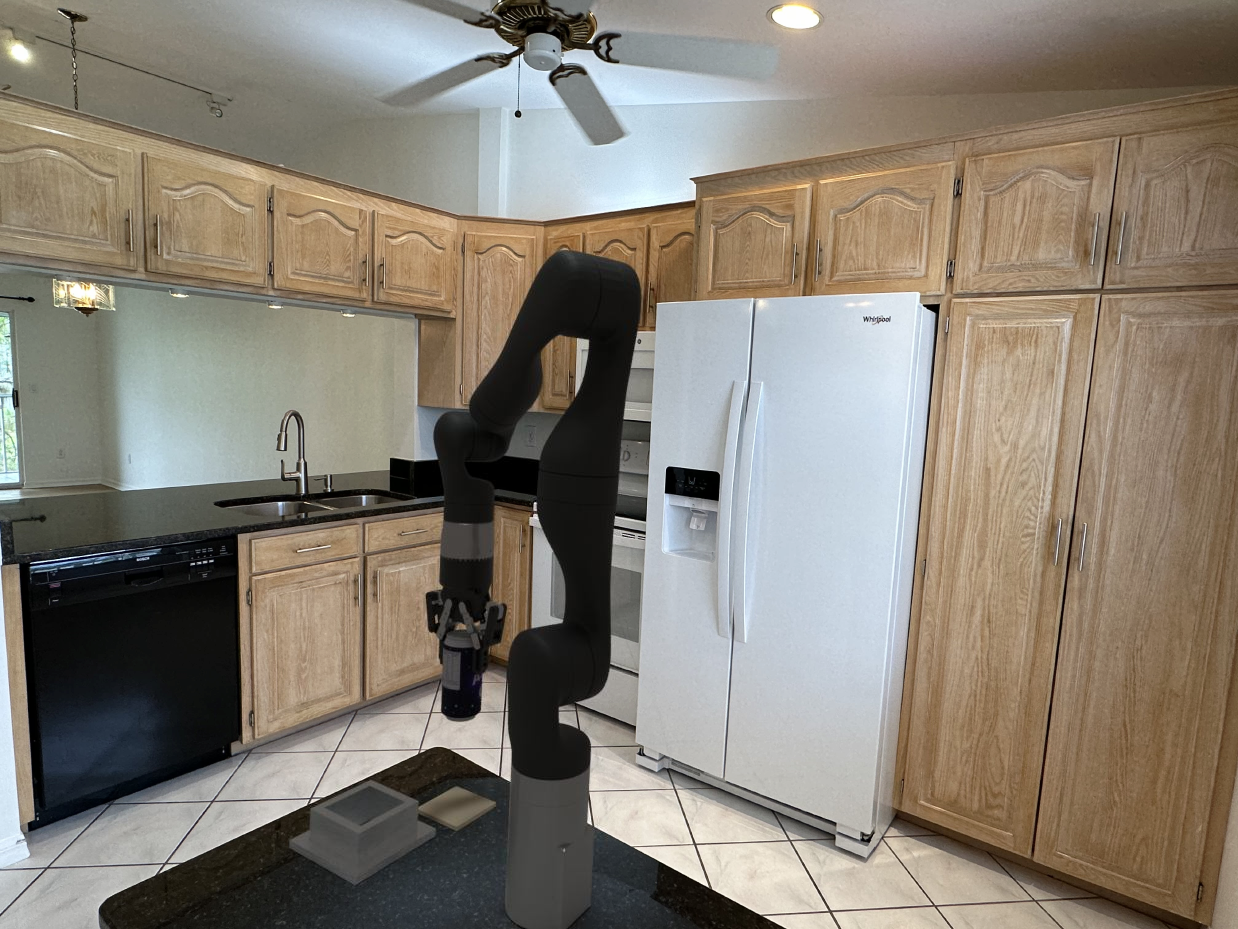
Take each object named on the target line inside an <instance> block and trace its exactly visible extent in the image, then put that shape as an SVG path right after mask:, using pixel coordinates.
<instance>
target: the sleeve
mask: <svg viewBox="0 0 1238 929" xmlns="http://www.w3.org/2000/svg"><path fill="white" fill-rule="evenodd" d="M419 803H420V802H419V800H417V799H415V798H412V797H411V796H408V795H405V794H404V793H402V792H400V791H397V790H394V789H392V788H390V787H389V786H387V785H383V784H381V783H379V782H377V781H375V780H372V779H370V780H368V781H365V782H364V783H361V784H359V785H357V786H355V787H353V788H351V789H349V790H347V791H345V792H342V793H340V794H338V795H336V796H334V797H332V798H330V799H328V800H326V801H324V802H321V803H320V804H317V805H315V806H313V807H311V808H310V810H309V830H307V831H304V832H303V833H301V834H299V835H297V836H295V837H293V838H291V839H289V846H288V847H289V848H290V849H291V850H293V851H295V852H296V853H298V854H300V855H302V856H303V857H305V858H307V859H309V860H310V861H312V862H313V863H315V864H317V865H319V866H321V867H322V868H323V869H326V870H328V872H331V873H333V874H334V875H336V876H338V877H339V878H341V879H343V880H345V881H346V882H348V883H350V884H352V885H353V886H357V885H358V884H360V883H361V882H363V881H365V880H366V879H368V878H369V877H371V876H373V875H374V874H376V873H377V872H379V871H381V870H382V869H384V868H386V867H388V866H389V865H391V864H392V863H394V862H396V861H398V860H399V859H400V858H403V856H406V855H407V854H409V853H410V852H412V851H413V850H415V849H417V848H418V847H420V846H422V845H423V844H426V842H428V841H430V840H431V839H433V838H434V837H436V835H437V834H436V832H437V831H436V830H437V829H436V828H435V827H433V826H431V825H429V824H427V823H425V822H423V821H420V820H419V814H418V807H419Z"/></svg>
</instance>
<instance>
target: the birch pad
mask: <svg viewBox="0 0 1238 929" xmlns="http://www.w3.org/2000/svg"><path fill="white" fill-rule="evenodd" d="M494 807H495V808H496V807H497V802H496V801H493V800H491V799H489V798H486V797H484V796H482V795H479V794H476V793H473V792H471V791H469V790H467V789H464V788H462V787H459V786H457V785H456V786H453V787H452V788H450V789H448V790H447V791H445V792H443V793H442V794H440V795H438V796H435V797H434V798H433V799H431V800H429V801H426V803H423V804H421V805H420V806H418V815H421V816H423V817H425V818H427V819H429V820H431V821H433V822H436V823H438V824H441V825H443V826H445V827H447V828H449V829H451V830H453V831H455V832H458V831H459V830H461V829H463V828H464V827H466V826H467V825H469V824H471V823H473V822H474V821H475V820H478V819H479V818H480V817H482V816H484V815H485V814H487V813H489V812H490V811H491V810H493V809H495V808H494Z"/></svg>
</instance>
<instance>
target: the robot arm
mask: <svg viewBox="0 0 1238 929" xmlns="http://www.w3.org/2000/svg"><path fill="white" fill-rule="evenodd" d="M641 310H642V288H641V281H640V278H639V276H638V273H637V271H636V270H635V269H634V268H633V266H632V265H629V263H625V262H623V261H620V260H616V259H613V258H608V257H603V256H601V255H595V254H592V253H587V252H583V251H577V250H572V249H564V250H563V249H561V250H557V251H555V252H554V253H553V254H551V255H550V256H549V257H548V258H547V259H546V260H545V262H544V263H543V264H542V266H541V267H540V268H539V269H538V272H537V274H536V275H535V277H534V279H533V281H532V282H531V285H530V288H529V289H528V292H527V294H526V296H525V298H524V300H523V302H522V304H521V307H520V309H519V311H518V313H517V316H516V318H515V320H514V323H513V325H512V327H511V329H510V332H509V334H508V336H507V339H506V340H505V344H504V346H503V348H502V350H501V352H500V354H499V356H498V357H497V359H496V361H495V362H494V364H493V366H492V367H491V368H490V369H489V371H488V373H486V375H485V376H484V377H483V379H482V380H481V382H480V383H479V384H478V385H477V387H476V389H475V390H474V391H473V393H472V394H471V397H470V399H469V403H468V410H469V411H456V410H455V411H454V410H452V411H446V412H444V413H443V414H442V415H440V416H439V417H438V419H437V420H436V422H435V425H434V428H433V434H432V436H433V437H432V439H433V444H434V445H433V446H434V450H435V454H436V457H437V458H436V459H437V461H438V465H439V470H440V474H441V480H442V485H443V487H442V488H443V494H444V496H443V517H442V519H443V520H442V527H441V534H440V547H439V548H440V551H439V552H440V553H439V571H438V572H439V575H438V583H439V585H440V586H442V588H441V589H435V590H431V591H428V592H426V593H425V596H424V597H425V605H426V606H425V607H426V608H425V610H426V619H427V631H428V632H429V633H431V634H435V636H436V637H437V639H438V660H439V664H440V665H441V666H443V643H444V641H445V639H446V638H447V633H448V632H450V631H454V630H458V629H457V628H458V626H459V625H460V624H462V625H464V626H465V629H466V630H467V633H468V634H470V635H471V638H472V642H473V645H474V649H473V656H472V673H473V674H475V675H479V674H482V673H483V674H484V673H485V672H486V671H487V669H488V667H489V655H490V654H489V652H490V647H492V646H496V645H499V644H501V643H502V639H503V635H504V634H503V633H504V627H505V622H506V617H507V611H508V605H507V604H506V603H504V602H503V603H497V602H495V601H492V598H491V595H490V588H491V587H492V584H493V580H494V561H495V560H494V558H495V557H494V555H495V530H494V529H495V528H494V520H495V518H494V516H495V513H494V512H495V487H494V485H493V483H492V482H491V481H489V480H487V479H482V478H478V477H473V476H471V475H470V474H469V472H468V471H467V468H466V465H465V463H466V462H467V463H468V462H469V463H471V462H472V463H493V462H495V461H498V460H500V459H501V458H502V457H504V456H505V455H506V454H507V453H508V451H509V448H510V444H511V441H512V439H513V436H514V433H515V430H516V427H517V424H518V423H519V421H520V420H521V419H522V418H523V417H524V416H525V415H526V414H527V412H528V411H529V410H530V409H531V408H532V407H533V405H534V404H535V402H536V400H537V399H538V398H539V396H540V394H541V391H542V387H543V383H544V382H543V380H544V370H543V363H542V352H543V350H544V349H545V348H546V346H548V344H549V343H551V342H552V340H554V339H555V338H557V337H559V336H562V337H565V338H566V337H567V338H572V339H580V340H587V341H588V349H587V350H588V351H587V357H586V363H585V369H584V374H583V377H582V381H581V383H580V386H579V388H578V390H577V392H576V394H575V396H574V398H573V399H572V401H571V403H570V404H569V406H568V407H567V409H566V410H565V412H563V414H562V416H561V417H560V418H559V420H558V422H557V423H556V425H555V426H554V428H553V429H552V430H551V432H550V433H549V435H548V438H547V439H546V440H545V443H544V445H543V448H542V450H541V452H540V456H539V463H538V469H539V470H538V474H537V475H538V477H537V489H536V500H535V501H536V503H535V504H536V506H535V507H536V514H537V518H538V523H539V524H540V527H541V530H542V532H543V534H544V536H545V538H546V541H547V543H548V544H549V546H550V548H551V550H552V552H553V554H554V556H555V558H556V560H557V562H558V564H559V567H560V569H561V572H562V575H563V580H564V594H565V596H564V597H565V598H564V613H563V618H562V622H560V623H552V624H547V625H542V626H537V627H531V628H527V629H523V630H522V631H520V632H519V633H518V634H516V635H515V637H514V638H513V640H512V643H511V644H510V648H509V653H508V658H507V669H506V670H507V674H506V675H507V676H506V677H507V678H506V679H507V732H508V739H509V744H510V748H511V750H510V751H511V753H510V754H511V758H510V760H511V761H510V781H509V801H508V802H509V803H508V804H509V805H508V822H507V823H508V824H507V825H508V826H507V847H506V867H505V868H506V870H505V871H506V872H505V874H506V875H505V890H504V891H505V894H504V900H505V901H504V909H505V912H506V915H507V916H508V918H509V919H510V920H511V921H512V922H513V923H515V924H516V925H518V926H520V927H521V928H525V929H568V928H570V926H571V925H572V924H573V923H574V922H575V921H577V919H578V918H579V917H580V916H582V915H583V913H585V911H587V910H588V909H589V907H591V903H592V902H591V900H592V887H593V886H592V883H593V881H592V880H593V865H594V864H593V861H594V844H595V843H594V842H595V829H594V827H593V826H591V825H589V824H588V820H589V800H590V798H589V797H590V782H591V781H590V780H591V779H590V778H591V761H592V760H591V759H592V758H591V757H592V743H591V740H590V736H588V735H587V733H586V732H585V731H583V730H582V729H580V728H578V727H576V726H574V725H570V724H568V723H563V722H560V708H561V707H564V706H565V707H566V706H569V705H572V704H576V703H579V702H580V703H581V702H584V701H586V700H589V699H592V698H594V697H596V696H598V695H599V694H600V693H601V692H602V691H603V690H604V688H605V686H606V684H607V682H608V678H609V676H610V675H609V674H610V669H611V662H612V661H611V659H612V615H611V614H612V611H611V610H612V609H611V606H612V605H611V604H612V603H611V602H612V601H611V599H612V598H611V587H612V586H611V585H612V582H611V581H612V562H613V547H614V546H613V545H614V535H615V534H614V532H615V520H616V513H617V506H618V497H619V485H620V484H619V483H620V474H621V473H620V468H621V466H620V465H621V449H622V437H623V428H624V427H623V426H624V418H625V410H626V402H627V392H628V386H629V381H630V375H631V369H632V364H633V358H634V354H635V347H636V342H637V337H638V333H639V332H638V331H639V325H640V319H641V318H640V317H641V313H642V312H641ZM436 618H437V620H436ZM477 623H479V624H478V625H476V624H477ZM479 632H480V633H481V637H482V639H481V638H480V635H479Z"/></svg>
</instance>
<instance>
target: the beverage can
mask: <svg viewBox="0 0 1238 929" xmlns="http://www.w3.org/2000/svg"><path fill="white" fill-rule="evenodd" d="M479 635H480V638H481V639H482V637H481V633H480V631H479ZM473 649H474V645H473V642H472V638H471V635H470V634H468V633H467V630H466V628H463V629H456V630H454V631H450V632H448V633H447V638H446V639H445V641H444V643H443V665H442V673H441V674H442V676H441V696H440V697H441V700H440V712H441V715H443V716H445V718H446V720H448V721H449V722H456V723H462V722H463V723H465V722H468V721H472V720H474V719H475V718H476V716H477V715H479V714H480V712H481V711H482V698H483V696H482V695H483V674H484V673H482V674H479V675H475V674H473V673H472V656H473Z"/></svg>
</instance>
